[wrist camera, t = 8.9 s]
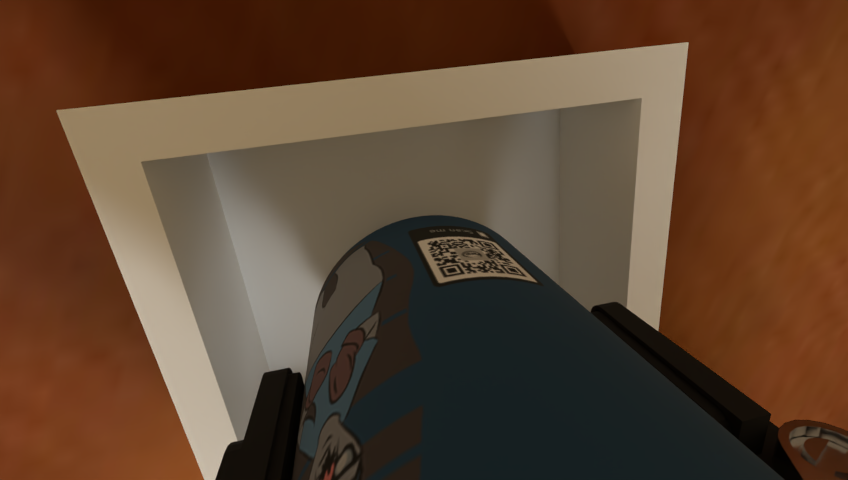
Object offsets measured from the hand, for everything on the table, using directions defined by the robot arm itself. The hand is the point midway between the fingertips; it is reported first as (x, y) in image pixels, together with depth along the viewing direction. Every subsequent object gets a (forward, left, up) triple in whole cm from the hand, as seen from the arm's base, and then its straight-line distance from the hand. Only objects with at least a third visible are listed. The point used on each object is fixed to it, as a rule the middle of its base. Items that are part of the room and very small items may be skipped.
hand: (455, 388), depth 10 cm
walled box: (0, 0, -7) cm, 7 cm away
